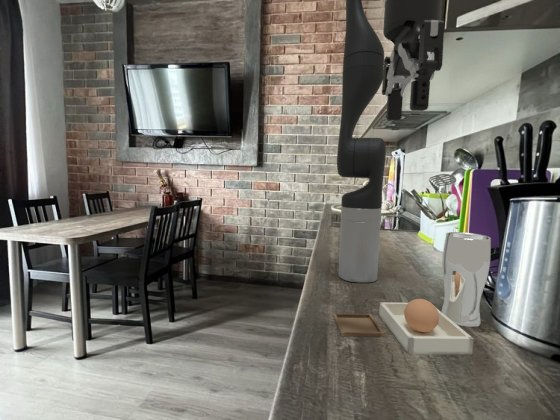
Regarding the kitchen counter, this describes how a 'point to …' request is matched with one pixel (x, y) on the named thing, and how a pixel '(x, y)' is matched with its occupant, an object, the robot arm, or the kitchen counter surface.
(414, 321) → the egg
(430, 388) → the kitchen counter surface
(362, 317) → the holder
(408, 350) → the tray
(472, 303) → the beer glass
